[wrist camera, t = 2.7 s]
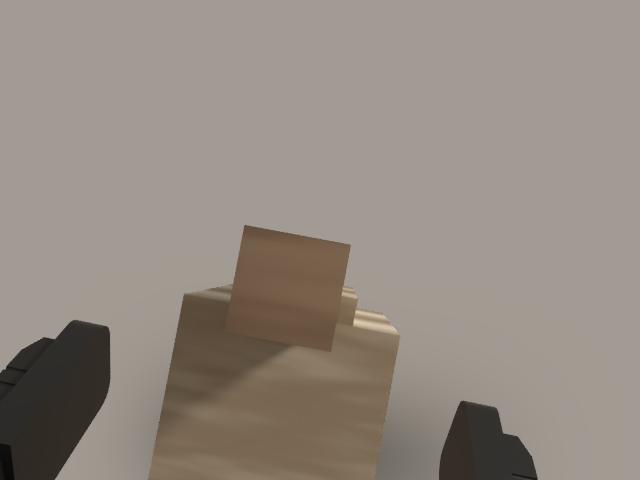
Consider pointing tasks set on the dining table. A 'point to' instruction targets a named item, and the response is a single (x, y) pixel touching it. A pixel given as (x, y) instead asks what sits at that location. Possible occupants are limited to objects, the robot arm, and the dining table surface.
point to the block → (287, 288)
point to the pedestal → (273, 399)
